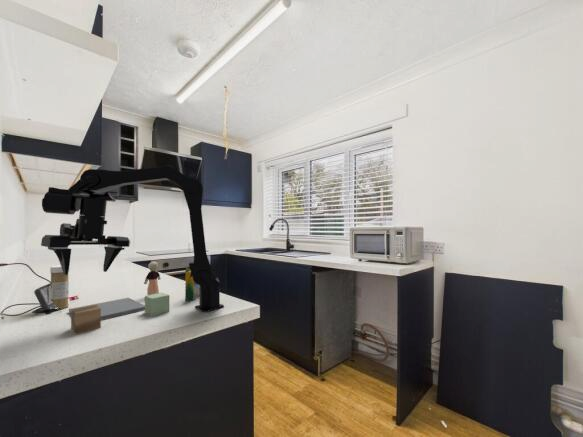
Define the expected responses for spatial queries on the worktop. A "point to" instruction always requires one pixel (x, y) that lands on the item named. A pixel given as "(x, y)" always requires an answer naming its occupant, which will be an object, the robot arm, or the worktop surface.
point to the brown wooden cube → (85, 319)
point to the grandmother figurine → (152, 279)
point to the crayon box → (190, 287)
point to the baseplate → (117, 307)
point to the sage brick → (156, 304)
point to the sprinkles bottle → (59, 287)
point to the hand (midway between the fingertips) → (86, 273)
